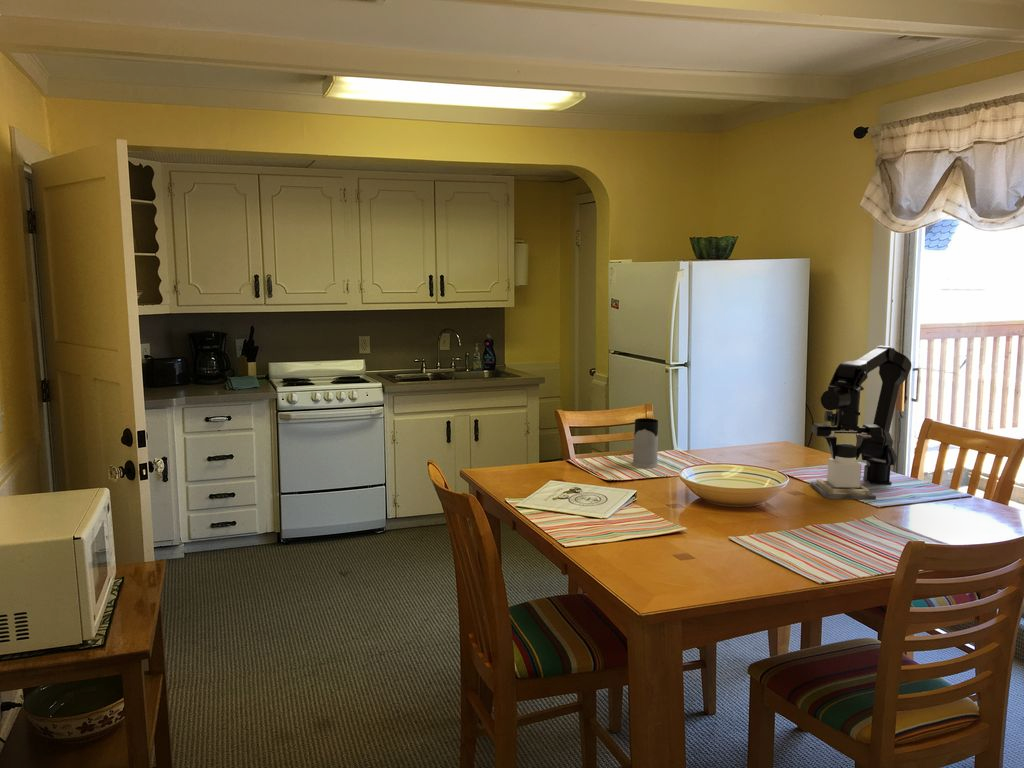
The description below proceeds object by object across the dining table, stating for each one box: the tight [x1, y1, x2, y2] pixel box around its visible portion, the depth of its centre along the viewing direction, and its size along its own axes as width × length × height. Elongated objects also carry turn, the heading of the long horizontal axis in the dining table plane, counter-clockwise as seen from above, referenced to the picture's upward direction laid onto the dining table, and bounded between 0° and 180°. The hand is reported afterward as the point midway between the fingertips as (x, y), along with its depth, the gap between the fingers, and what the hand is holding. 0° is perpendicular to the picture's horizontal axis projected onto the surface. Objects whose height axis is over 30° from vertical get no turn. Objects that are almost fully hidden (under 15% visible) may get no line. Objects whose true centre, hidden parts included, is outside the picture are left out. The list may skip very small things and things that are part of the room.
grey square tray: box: [810, 478, 877, 500], centre depth 242 cm, size 14×14×2 cm
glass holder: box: [631, 417, 659, 469], centre depth 273 cm, size 9×14×15 cm, turn 163°
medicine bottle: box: [826, 442, 862, 488], centre depth 240 cm, size 7×7×12 cm
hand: (844, 459), depth 240 cm, fingers open, 6 cm apart
